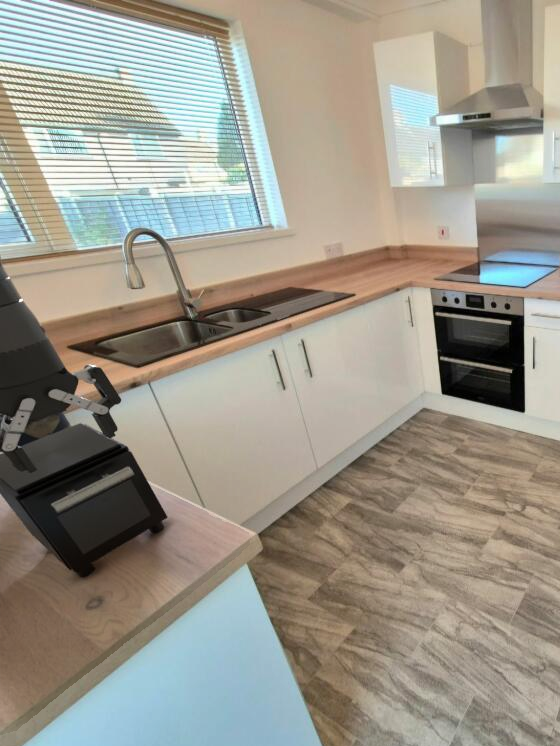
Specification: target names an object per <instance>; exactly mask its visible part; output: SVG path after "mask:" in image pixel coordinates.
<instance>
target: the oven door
mask: <svg viewBox="0 0 560 746" xmlns="http://www.w3.org/2000/svg"><path fill="white" fill-rule="evenodd" d="M129 450H130V449H129ZM129 450H127V451H125V452H123V453H121V454H118V455H116V456H114V457H112V458H110V459H108V460H105V461H103V462H101V463H99V464H97V465H95V466H92V467H90V468H88V469H86V470H84V471H82V472H79V473H77V474H75V475H73V476H71V477H68V478H66V479H64V480H62V481H60V482H58V483H55V484H53V485H51V486H49V487H47V488H45V489H42V490H40V491H38V492H36V493H34V494H32V495H29V496H27V497H25V498H23V499H21V500H20V501H21V502H22V504H23V505H24V506H25V508H26V509H27V510H28V512H29V513H30V514H31V516H32V517H33V518H34V520H35V521H36V522H37V524H38V525H39V526H40V528H41V529H42V530H43V532H44V533H45V534H46V536H47V537H48V538H49V540H50V541H51V542H52V544H53V545H54V546H55V548H56V549H57V550H58V552H59V553H60V554H61V556H62V557H63V558H64V560H65V561H66V562H67V564H68V565H69V566H70V568H71V569H72V570H71V571H72V572H73V573H74V574H77V573H76V572H78V571H80V570H81V569H83V568H85V567H86V566H88V565H90V564H91V563H92V564H93V563H94V562H97V561H98V560H100V559H101V558H103V557H105V556H107V555H108V554H110V553H111V552H113V551H115V550H116V549H119V548H120V547H122V546H123V545H125V544H127V543H128V542H130V541H132V540H133V539H134V538H136V537H138V536H140V535H141V534H143V533H145V532H146V531H148V530H149V529H150V528H151V527H153V526H155V525H156V524H158V523H160V522H161V521H162V522H163V521H165V520H166V519H168V515H167V513H166V511H165V510H164V508H163V506H162V504H161V502H160V501H159V499H158V497H157V495H156V494H155V492H154V490H153V489H152V487H151V485H150V483H149V481H148V479H147V477H146V475H145V474H144V472H143V471H142V468H141V467H140V465H139V463H138V461H137V460H136V457H135V456H134V454H133V452H132V451H131V450H130V451H129Z"/></svg>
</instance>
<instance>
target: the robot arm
mask: <svg viewBox="0 0 560 746" xmlns="http://www.w3.org/2000/svg"><path fill="white" fill-rule="evenodd" d="M79 381H83V382H85V383H87V384H89V385H93V387H94V388H95V389H96V391H97V392H98V393H99V395H100V397H101V399H99V400H98V401H93V400H91V399H88V398H85V397H82V396H80V395H78V394H76V391H77V388H78V385H79ZM121 403H122V398H121V396H120V395H119V393H118V392H117V390H116V388H115V387H114V385H113V383H111V380H109V378H108V376H107V374H106V372H104V370H103V368H101V367H99V366H96V365H95V364H91V363H90V364H89V363H88V364H85V365H84V366H83V368H82V369H79V370H77V371H74V372H71V371H69V369H67V368H66V366H65V365H64V363H63V360H62V359H61V357H60V355H59V354H58V352H57V350H56V349H55V347H54V345H53V343H52V342H51V340H50V338H49V336H48V335H47V333H46V328H44V326H43V325H42V324H41V323H40V321H39V319H38V318H37V317H36V315H35V314H34V313H33V311H32V310H31V309H30V308H29V306H28V305H27V303H26V302H25V301H24V299H22V296H21V295H20V292H19V291H18V289H17V287H16V286H15V283H14V282H13V280H12V279H11V277H10V276H9V274H8V272H7V271H6V269H5V267H4V265H3V262H2V255H0V414H3V415H4V417H3V420H2V422H1V429H0V453H4V454H5V456H6V457H7V458H8V460H9V461H10V462H11V464H12V465H13V467H15V468H16V469H17V470H19V471H21V472H23V471H25V470H26V471H27V472H29V473H32V472H34V471H36V470H37V469H36V467H35V466H34V465H33V463H32V462H31V460H30V459H29V457H28V456H27V455H26V453H25V452H24V450H23V449H22V448H21V447H20V446H19V445H17V444H18V441H19V439H20V436H21V434H22V433H23V432H24V430H25V427H26V425H27V422H28V421H35V422H37V421H39V420H42V419H44V418H46V417H48V416H49V415H52V414H57V413H61V412H63V413H64V412H66V411H67V409H68V408H69V407H70V406H71V405H72V406H74V407H76V408H77V407H78V408H79V409H83V410H86V411H88V412H89V411H90V412H92V413H91V415H92V418H93V419H94V420H95V422H96V424H97V426H98V427H99V430H100V432H101V433H103V434H104V435H105V436H106V437H108V438H114V437H116V432H118V425H117V424H116V421H115V420H114V418H113V416H112V415H111V413H110V411H111V409H112V408H113V407H114V406H116V405H119V404H121ZM10 418H11V419H10ZM18 423H19V424H18Z"/></svg>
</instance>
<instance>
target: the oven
mask: <svg viewBox="0 0 560 746" xmlns="http://www.w3.org/2000/svg"><path fill="white" fill-rule="evenodd" d="M20 447H21V448H22V449H23V450H24V452H25V453H26V455H27V456H28V457H29V459H30V460H31V462H32V463H33V465H34V466H35V467H36V469H37V470H36V471H34V472H32V473H29V472H27V471H26V470H25V471H23V472H21V471H19V470H17V469H16V468H15V467H13V465H12V464H11V462H10V461H9V460H8V458H7V457H6V456H5V454H4V453H3V452H1V453H0V496H1V497H2V498H3V500H4V501H5V502H6V503H7V505H8V507H10V509H11V510H12V511H13V512H14V513H15V515H16V517H18V519H19V520H20V521H21V523H22V524H23V526H24V527H25V528H26V530H27V531H28V532H29V533H30V535H31V536H32V537H33V538H35V539H36V540H37V541H38V542H39V543H40V544H41V545H42V547H44V548H45V549H46V550H47V551H48V552H49V553H50V554H52V556H54V557H55V558H56V559H57V560H58V561H59V562H60V563H61V564H62V565H63V566H64V567H65V568H66V569H67V570H68V571H73V570H72V569H71V568H70V566H69V565H68V564H67V562H66V561H65V560H64V558H63V557H62V556H61V554H60V553H59V552H58V550H57V549H56V548H55V546H54V545H53V544H52V542H51V541H50V540H49V538H48V537H47V536H46V534H45V533H44V532H43V530H42V529H41V528H40V526H39V525H38V524H37V522H36V521H35V520H34V518H33V517H32V516H31V514H30V513H29V512H28V510H27V509H26V508H25V506H24V505H23V504H22V502H21V501H20V500H21V499H23V498H25V497H27V496H29V495H32V494H34V493H36V492H38V491H40V490H42V489H45V488H47V487H49V486H51V485H53V484H55V483H58V482H60V481H62V480H64V479H66V478H68V477H71V476H73V475H75V474H77V473H79V472H82V471H84V470H86V469H88V468H90V467H92V466H95V465H97V464H99V463H101V462H103V461H105V460H108V459H110V458H112V457H114V456H116V455H118V454H121V453H123V452H125V451H127V450H129V451H131V450H130V447H128V446H127V445H126V444H124V443H122V442H120V441H118V440H116V439H115V438H114V437H112V438H108V437H106V436H105V435H104V434H103V433H102V431H99V430H98V429H95V428H94V427H92V426H90V425H89V424H87V423H85V424H84V423H82V422H79V423H77V424H74V425H71V427H69V428H66V429H64V430H61V431H59V432H56V433H54V434H51V435H48V436H46V437H43V438H41V439H38V440H36V441H33V442H30V443H28V444H25V445H23V446H20ZM164 529H165V524H164V522H163V521H161V522H160V523H158V524H156V525H155V526H153V527H151V528H150V529H148V530H149V531H150V534H158V533H160V532H162V531H163V530H164ZM95 571H96V567H95V565H94V564H93V563H91V564H90V565H88V566H86V567H85V568H83V569H81V570H80V571H78V572H76V573H75V574H76V575H77V576H78V577H79V578H82V579H83V578H86V577H89V576H90V575H92V574H93V573H94V572H95Z"/></svg>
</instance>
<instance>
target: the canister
mask: <svg viewBox="0 0 560 746" xmlns="http://www.w3.org/2000/svg"><path fill="white" fill-rule="evenodd" d="M3 417H4V415H3V414H0V429H1V422H2V420H3ZM10 419H11V418H10ZM18 424H19V423H18ZM71 426H72V424H71V422H70V421H69V420H68V418H67V417H66V415H65V414H64V412H61V413H57V414H52V415H49V416H48V417H46V418H44V419H42V420H39V421H37V422H35V421H28V422H27V425H26V427H25V430H24V432H23V433H22V434H21V436H20V439H19V441H18V444H17V445H19V446H23V445H25V444H28V443H30V442H33V441H36V440H38V439H41V438H43V437H46V436H48V435H51V434H54V433H56V432H59V431H61V430H64V429H66V428H69V427H71Z"/></svg>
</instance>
